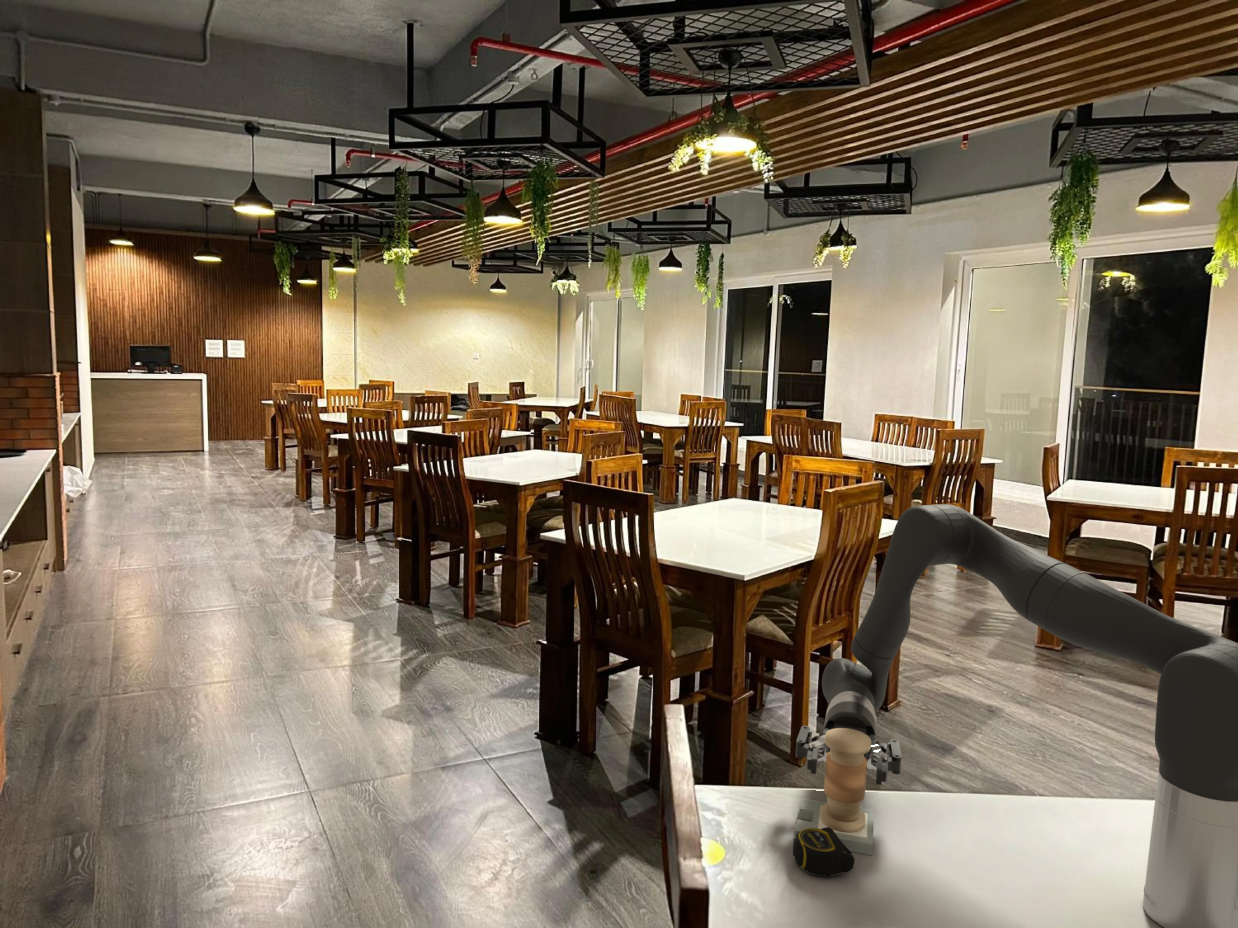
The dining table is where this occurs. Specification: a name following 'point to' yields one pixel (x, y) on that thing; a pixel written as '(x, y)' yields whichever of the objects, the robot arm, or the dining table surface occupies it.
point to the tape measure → (822, 852)
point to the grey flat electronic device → (852, 841)
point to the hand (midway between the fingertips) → (846, 772)
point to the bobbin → (845, 779)
